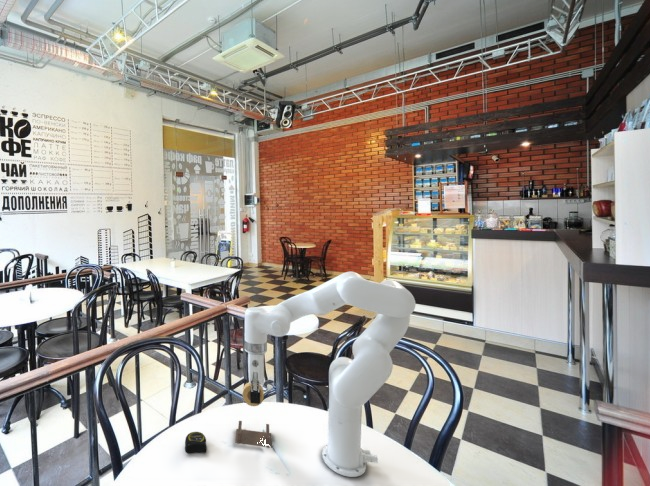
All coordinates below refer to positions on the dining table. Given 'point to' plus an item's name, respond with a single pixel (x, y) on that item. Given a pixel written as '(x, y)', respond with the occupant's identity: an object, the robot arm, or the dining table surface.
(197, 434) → the tape measure
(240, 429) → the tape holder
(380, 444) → the dining table surface
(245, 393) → the tape roll
